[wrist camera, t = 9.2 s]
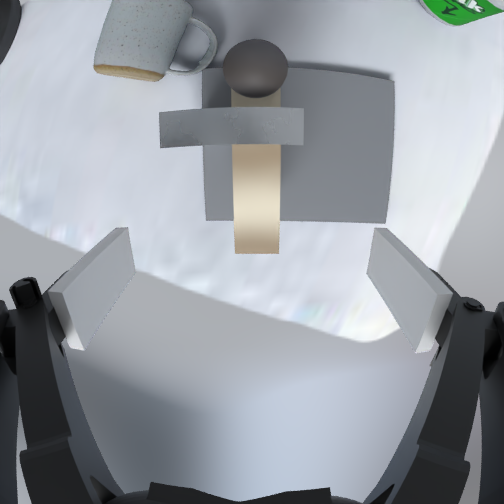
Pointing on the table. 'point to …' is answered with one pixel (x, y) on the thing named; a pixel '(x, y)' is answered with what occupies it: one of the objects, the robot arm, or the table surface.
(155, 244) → the table surface
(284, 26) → the table surface
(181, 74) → the ceramic mug
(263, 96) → the lever link
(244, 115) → the block
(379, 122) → the board
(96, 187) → the table surface
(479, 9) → the soda can
